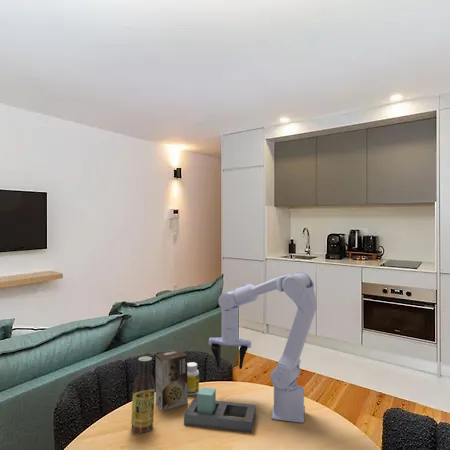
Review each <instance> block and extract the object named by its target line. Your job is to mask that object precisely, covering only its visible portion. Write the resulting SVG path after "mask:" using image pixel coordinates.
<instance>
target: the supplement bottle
mask: <svg viewBox="0 0 450 450" xmlns="http://www.w3.org/2000/svg"><path fill="white" fill-rule="evenodd" d="M187 383H188V396H195V395H197V394H198V392H199V391H200V372H199V370H198V363H197V362H194V361H193V362H187Z"/></svg>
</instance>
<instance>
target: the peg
mask: <svg viewBox="0 0 450 450" xmlns="http://www.w3.org/2000/svg"><path fill="white" fill-rule="evenodd" d="M216 390H217V389H216V388H213V387H211V388H210V387H203V386H202V387H201V388H199V392H198V393H197V394H196V396H197V413H205V414H213V415H214V414H215V412H216V401H217V400H216V399H217V398H216V396H217V395H216V394H217V392H216Z"/></svg>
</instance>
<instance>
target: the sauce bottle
mask: <svg viewBox="0 0 450 450" xmlns="http://www.w3.org/2000/svg"><path fill="white" fill-rule="evenodd" d="M152 364H153V357H151V356H148V355H147V356H146V355H145V356H140V357H138V360H137V365H138V371H137V376H136V377H135V379H134V381H133V385H132V386H133V390H132V400H131V401H132V402H131V403H132V404H131V422H130V423H131V430H132V431H133V432H134V433H138V434H141V433H146V432H148V431H150V430H151V429H152V427H153V425H154V417H155V416H154V415H155V396H156V382H155V378H154V376H153V374H152Z"/></svg>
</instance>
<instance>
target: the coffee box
mask: <svg viewBox="0 0 450 450" xmlns="http://www.w3.org/2000/svg"><path fill="white" fill-rule="evenodd" d="M187 363H188V355H187V354H186V353H185V351H182V350H181V349H175V350H170V351H167V352H162V353H155V404H156V406H158V408H159V409H160V410H161V411H162V412H164V411H167V410H170V409H174V408H177V407H180V406H183V405H187V404H188V402H189V398H188V397H189V395H188V383H187Z"/></svg>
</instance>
